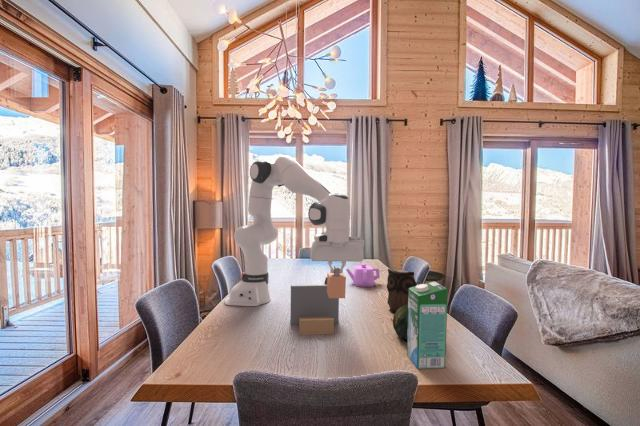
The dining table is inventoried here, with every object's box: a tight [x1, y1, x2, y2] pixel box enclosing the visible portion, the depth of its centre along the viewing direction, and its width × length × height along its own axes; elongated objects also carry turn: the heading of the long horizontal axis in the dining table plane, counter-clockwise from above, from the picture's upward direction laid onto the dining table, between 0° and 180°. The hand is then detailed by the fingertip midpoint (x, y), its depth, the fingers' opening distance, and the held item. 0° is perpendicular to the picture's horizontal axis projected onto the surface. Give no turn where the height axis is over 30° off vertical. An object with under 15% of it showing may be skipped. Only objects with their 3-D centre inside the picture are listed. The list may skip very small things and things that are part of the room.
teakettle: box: [345, 263, 381, 288], centre depth 198 cm, size 17×17×12 cm
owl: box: [386, 268, 418, 315], centre depth 147 cm, size 13×13×20 cm
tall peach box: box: [326, 264, 347, 299], centre depth 121 cm, size 6×7×11 cm
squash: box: [392, 305, 408, 340], centre depth 119 cm, size 14×15×15 cm
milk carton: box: [406, 280, 449, 370], centre depth 102 cm, size 9×9×25 cm
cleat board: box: [289, 284, 340, 336], centre depth 130 cm, size 20×16×16 cm
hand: (336, 272), depth 121 cm, fingers closed on tall peach box
